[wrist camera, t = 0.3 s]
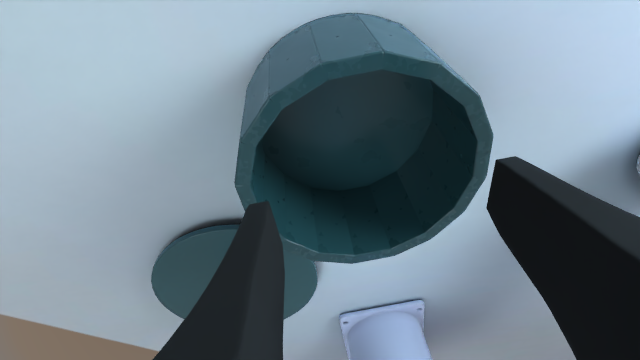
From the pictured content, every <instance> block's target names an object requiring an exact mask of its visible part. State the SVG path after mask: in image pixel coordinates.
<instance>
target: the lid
mask: <svg viewBox="0 0 640 360" xmlns="http://www.w3.org/2000/svg"><path fill="white" fill-rule="evenodd" d="M238 228H239V225H220V226H213V227H208V228H203V229H199V230H196V231H193V232H191V233H188V234H186V235H184V236H182V237H180V238H178V239H177V240H175V241H174V242H172V243H171V244H169V245H168V246H167V247H166V248H165V249H164V250H163V251H162V252H161V254H160V255H159V256H158V258H157V260H156V262H155V264H154V267H153V271H152V279H151V282H152V287H153V290H154V292H155V295H156V296H157V298H158V299H159V301H160V302H161V303H162V304H163V305H164V306H165V307H166V308H167V309H169V310H170V311H171V312H173V313H174V314H176V315H177V316H179V317H181V318H183V319H185V318H186V317H187V315H188V314H189V313H190V311H191V310H192V308H193V307H194V305H195V304H196V303H197V301H198V300H199V298H200V297H201V295H202V293H203V292H204V290H205V289H206V287H207V286H208V284H209V282H210V280H211V279H212V277H213V275H214V274H215V272H216V270H217V268H218V267H219V265H220V263H221V262H222V260H223V258H224V256H225V254H226V252H227V250H228V248H229V246H230V244H231V242H232V240H233V238H234V236H235V234H236V232H237V230H238ZM283 255H284V268H285V288H284V317H283V320H284V319H286V318H288V317H290V316H291V315H293V314H295V313H296V312H298V311H299V310H300V309H301V308H303V307H304V306H305V305H306V304H307V303H308V302H309V300H310V299H311V297H312V296H313V294H314V292H315V289H316V286H317V271H316V266H315V263H314V261H313V260H310V259H307V258H305V257H302V256H300V255H297V254H294V253H292V252H289V251H287V250H284V249H283Z"/></svg>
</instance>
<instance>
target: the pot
mask: <svg viewBox="0 0 640 360" xmlns="http://www.w3.org/2000/svg"><path fill="white" fill-rule="evenodd" d="M492 141H493V132H492V130H491V127H490V124H489V121H488V118H487V115H486V112H485V110H484V107H483V104H482V101H481V98H480V95H478V93H477V92H476V91H475V90H474V89H473V88H472V87H471V86H470V85H469V84H468V83H466V82H465V81H464V80H463V79H462V78H461V77H460V76H459V75H458V74H457V73H456V72H455V71H454V70H453V69H452V68H451V67H449V66H448V65H447V64H446V63H445V62H444V61H443V60H442V59H441V58H440V57H439V56H438V55H437V54H436V53H435V52H434V51H432V50H431V49H430V48H429V47H428V46H427V45H425V44H424V43H423V42H422V41H421V40H420V39H418V38H417V37H416V36H415V35H414V34H413V33H411V32H410V31H409V30H408V29H406V28H405V27H404V26H403V25H402V24H399V23H397V22H393V21H391V20H388V19H384V18H381V17H378V16H373V15H367V14H358V13H357V14H355V13H354V14H352V13H346V14H338V15H331V16H327V17H324V18H320V19H316V20H314V21H312V22H309V23H307V24H305V25H302V26H300V27H299V28H297V29H295V30H294V31H292V32H290V33H289V34H287V35H286V36H285V37H284V38H282V39H281V40H280V41H279V42H277V43H276V44H275V45H274V46H273V47H272V48H271V49H270V51H269V52H268V53H267V54H266V55H265V57H264V58H263V60H262V61H261V62H260V64H259V65H258V67H257V69H256V71H255V73H254V75H253V77H252V79H251V81H250V82H249V84H248V87H247V90H246V98H245V105H244V112H243V119H242V126H241V133H240V140H239V148H238V157H237V166H236V174H235V188H236V190H237V193H238V195H239V197H240V200H241V202H242V205H243V207H244V210H245V212H246V209H247V207H248V206H249V205H250V204H254V203H259V202H265V201H269V203H270V206H271V210H272V213H273V216H274V219H275V222H276V225H277V228H278V232H279V235H280V238H281V241H282V244H283V249H284V250H287V251H289V252H292V253H294V254H297V255H300V256H302V257H305V258H307V259H310V260H314V261H323V262H337V263H351V264H353V263H359V262H364V261H369V260H375V259H380V258H385V257H391V256H395V255H397V254H400V253H402V252H404V251H406V250H408V249H410V248H413V247H415V246H417V245H419V244H421V243H424V242H426V241H428V240H430V239H431V238H433V237H434V236H435V235H437V234H438V233H439V232H440V231H441V230H443V229H444V228H445V227H446V226H447V225H449V224H450V223H451V222H452V221H453V220H455V219H456V218H457V217H458V216H459V215H461V214H462V213H463V211H465V210H466V208H467V206H468V205H469V203H470V202H471V200H472V199H473V197H474V195H475V194H476V192H477V191H478V189H479V188H480V186H481V185H482V183H483V181H484V180H485V178H486V176H487V170H488V165H489V159H490V153H491V147H492Z"/></svg>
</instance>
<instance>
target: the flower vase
mask: <svg viewBox="0 0 640 360" xmlns="http://www.w3.org/2000/svg"><path fill="white" fill-rule="evenodd" d="M637 170H638V173H639V175H640V155H639V157H638V160H637Z"/></svg>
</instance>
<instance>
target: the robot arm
mask: <svg viewBox="0 0 640 360" xmlns="http://www.w3.org/2000/svg"><path fill="white" fill-rule="evenodd" d="M487 210H488V212H489V214H490V216H491V218H492V220H493V223H494V224H495V226H496V228H497V230H498V232H499V234H500V236H501V237H502V239H503V240H504V242H505V243H506V245H507V246H508V248H509V249H510V251H511V252H512V254H513V255H514V257H515V258H516V260H517V261H518V262H519V264H520V265H521V267H522V268H523V270H524V271H525V273H526V274H527V275H528V277H529V278H530V280H531V281H532V283H533V284H534V286H535V287H536V288H537V290H538V291H539V293H540V294H541V296H542V297H543V299H544V301H545V302H546V304H547V305H548V307H549V309H550V310H551V312H552V314H553V316H554V318H555V319H556V321H557V323H558V325H559V327H560V329H561V330H562V332H563V334H564V336H565V338H566V340H567V342H568V344H569V346H570V347H571V349H572V351H573V353H574V355H575V357H576V359H577V360H640V217H638V216H636V215H633V214H631V213H629V212H626V211H624V210H622V209H620V208H618V207H615V206H613V205H611V204H609V203H607V202H605V201H602V200H600V199H598V198H596V197H594V196H592V195H590V194H588V193H586V192H584V191H582V190H580V189H578V188H576V187H574V186H572V185H570V184H568V183H566V182H565V181H563V180H561V179H559V178H557V177H555V176H553V175H551V174H549V173H547V172H546V171H544V170H542V169H540V168H538V167H536V166H534V165H532V164H530V163H528V162H526V161H524V160H522V159H520V158H518V157H516V156H515V157H509V158H504V159H498V160H496V162H495V167H494V172H493V177H492V182H491V187H490V192H489V197H488V203H487ZM284 288H285V268H284V255H283V244H282V241H281V238H280V235H279V232H278V228H277V225H276V222H275V219H274V216H273V213H272V210H271V206H270V203H269V201H265V202H259V203H254V204H250V205H249V206H248V207H247V209H246V212H245V214H244V216H243V219H242V221H241V223H240V225H239V228H238V230H237V232H236V234H235V236H234V238H233V240H232V242H231V244H230V246H229V248H228V250H227V252H226V254H225V256H224V258H223V260H222V262H221V263H220V265H219V267H218V268H217V270H216V272H215V274H214V275H213V277H212V279H211V280H210V282H209V284H208V286H207V287H206V289H205V290H204V292H203V293H202V295H201V297H200V298H199V300H198V301H197V303H196V304H195V305H194V307H193V308H192V310H191V311H190V313H189V314H188V315H187V317H186V318H185V320H184V321H183V322H182V324H181V325H180V326H179V327H178V329H177V330H176V331H175V333H174V334H173V335H172V337H171V338H170V339H169V341H168V342H167V343H166V344H165V346H164V347H163V348H162V349H161V350H160V352H159V353H158V354H157V355H156V356H155V358H154V359H153V360H283V317H284ZM424 307H425V305H424V302H423V301H422V300H416V301H411V302H405V303H400V304H394V305H389V306H383V307H378V308H373V309H367V310H362V311H356V312H351V313H345V314H342V315H340V316H339V321H340V325H341V330H342V334H343V338H344V342H345V346H346V351H347V355H348V359H349V360H432V358H431V355H430V352H429V349H428V346H427V343H426V340H425V337H424V335H423V330H424Z"/></svg>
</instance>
